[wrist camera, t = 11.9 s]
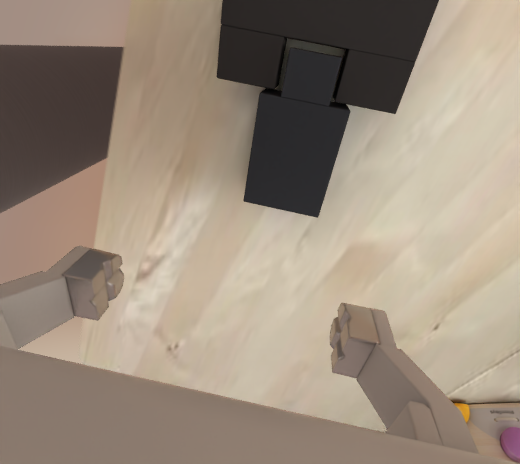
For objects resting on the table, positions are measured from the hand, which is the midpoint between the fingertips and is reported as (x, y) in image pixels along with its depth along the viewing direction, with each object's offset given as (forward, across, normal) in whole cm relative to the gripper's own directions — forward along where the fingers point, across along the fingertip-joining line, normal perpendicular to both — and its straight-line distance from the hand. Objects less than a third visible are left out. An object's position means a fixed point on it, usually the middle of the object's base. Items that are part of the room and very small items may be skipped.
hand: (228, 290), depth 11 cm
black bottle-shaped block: (+16, -2, -3) cm, 16 cm away
